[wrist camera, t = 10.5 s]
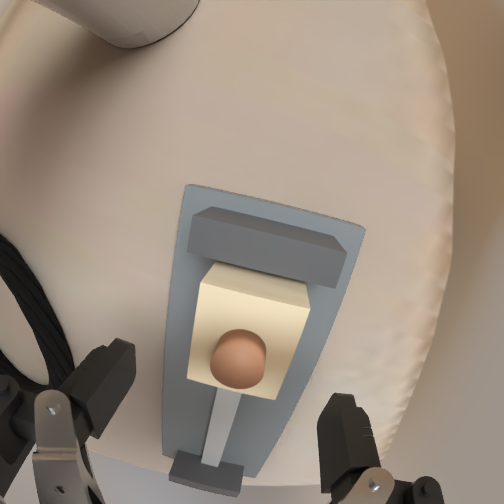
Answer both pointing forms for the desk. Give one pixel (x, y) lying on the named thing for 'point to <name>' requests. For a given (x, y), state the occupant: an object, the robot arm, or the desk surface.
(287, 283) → the keeper
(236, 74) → the desk surface
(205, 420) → the rail board
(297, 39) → the desk surface
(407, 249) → the desk surface
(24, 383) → the cable lock
